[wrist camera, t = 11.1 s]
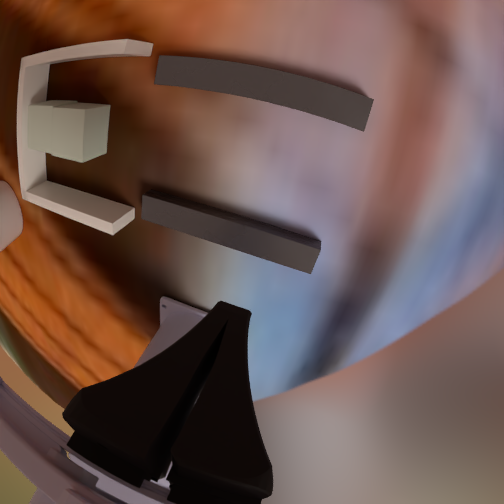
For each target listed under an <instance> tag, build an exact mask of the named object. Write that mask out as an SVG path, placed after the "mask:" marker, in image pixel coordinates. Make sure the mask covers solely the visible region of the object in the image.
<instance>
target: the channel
mask: <svg viewBox="0 0 504 504" xmlns="http://www.w3.org/2000/svg"><path fill="white" fill-rule="evenodd" d="M154 84H158V85H169V86H179V87H187V88H195V89H202V90H209V91H215V92H221V93H226V94H232V95H237V96H242V97H247V98H252V99H256V100H261V101H265V102H269V103H273V104H277V105H281V106H285V107H289V108H293V109H296V110H300V111H303V112H307V113H310V114H314V115H317V116H320V117H323V118H326V119H329V120H332V121H335V122H338V123H341V124H344V125H347V126H350V127H353V128H355V129H358V130H361V131H363V132H364V130H365V127H366V123H367V120H368V117H369V114H370V111H371V107H372V104H373V101H374V99H371V98H369V97H366V96H363V95H361V94H358V93H355V92H352V91H349V90H347V89H344V88H341V87H338V86H334V85H331V84H328V83H325V82H321V81H318V80H315V79H311V78H307V77H304V76H300V75H296V74H292V73H288V72H284V71H279V70H275V69H270V68H265V67H260V66H255V65H249V64H243V63H237V62H230V61H223V60H215V59H206V58H195V57H182V56H161V55H159V60H158V66H157V71H156V76H155V82H154ZM142 219H144V220H147V221H150V222H153V223H156V224H159V225H162V226H165V227H168V228H171V229H174V230H177V231H180V232H183V233H186V234H189V235H192V236H195V237H198V238H201V239H205V240H208V241H211V242H214V243H217V244H220V245H223V246H226V247H229V248H232V249H235V250H238V251H241V252H244V253H247V254H250V255H253V256H256V257H260V258H263V259H266V260H269V261H272V262H275V263H278V264H281V265H284V266H287V267H290V268H293V269H296V270H299V271H303V272H306V273H309V274H311V272H312V270H313V267H314V265H315V263H316V260H317V258H318V255H319V253H320V250H321V241H318V240H315V239H312V238H309V237H306V236H303V235H300V234H297V233H294V232H291V231H288V230H285V229H281V228H278V227H275V226H272V225H269V224H266V223H263V222H259V221H256V220H253V219H250V218H247V217H243V216H240V215H237V214H234V213H230V212H227V211H224V210H220V209H217V208H214V207H210V206H207V205H204V204H200V203H197V202H194V201H190V200H187V199H183V198H180V197H176V196H173V195H169V194H166V193H162V192H159V191H155V190H152V189H151V190H149V191H148V192H146V193H145V194H143V195H142Z"/></svg>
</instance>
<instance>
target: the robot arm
mask: <svg viewBox="0 0 504 504" xmlns="http://www.w3.org/2000/svg"><path fill="white" fill-rule="evenodd" d="M251 314H252V313H251V312H250V311H249V310H247V309H244V308H241V307H238V306H235V305H232V304H229V303H226V302H223V301H219V302H218V303H217V304H216V305H215V306H214V307H213V309H212V310H211V311H210V312H209V313H207V312H205V311H202V310H199V309H197V308H194V307H191V306H189V305H186V304H183V303H181V302H178V301H176V300H173V299H171V298H168V297H165V296H163V297H162V298H161V299H160V328H159V330H158V331H157V333H156V334H155V336H154V337H153V339H152V340H151V342H150V343H149V345H148V346H147V348H146V349H145V351H144V352H143V354H142V356H141V357H140V359H139V360H138V362H137V363H136V365H135V366H134V368H133V369H131V370H129V371H127V372H124V373H122V374H120V375H118V376H115V377H113V378H111V379H108V380H106V381H103V382H100V383H97V384H94V385H91V386H88V387H85V388H82V389H81V390H80V391H79V392H78V393H77V394H76V395H75V396H74V398H73V399H72V400H71V401H70V403H69V404H68V406H67V407H66V409H65V410H64V412H63V413H62V415H63V418H64V420H65V421H66V422H67V423H68V424H69V425H70V426H71V427H72V428H73V429H74V430H75V431H74V433H73V435H72V436H71V437H69V436H68V435H67V434H65V433H64V432H63V431H61V430H60V429H59V428H57V427H56V426H54V425H53V424H52V423H51V422H49V421H48V420H47V419H45V418H44V417H43V416H42V415H40V414H39V413H38V412H37V411H36V410H34V409H33V408H32V407H31V406H30V405H28V404H27V403H26V402H25V401H24V400H23V399H22V398H20V396H18V395H17V394H16V393H15V392H14V391H13V390H12V389H11V388H10V387H9V386H8V385H7V384H6V383H5V382H4V381H3V380H2V378H1V377H0V449H1V451H2V452H3V453H4V454H5V455H6V456H7V457H8V458H9V459H10V461H11V462H12V463H13V464H14V465H15V466H16V467H17V468H18V469H19V470H20V471H21V472H22V473H23V474H24V475H25V476H26V477H27V478H28V479H29V480H30V481H31V482H32V483H33V484H34V485H35V486H36V487H37V490H36V492H35V494H34V495H33V497H32V499H31V501H30V503H29V504H261V500H262V499H264V498H267V497H269V496H271V494H272V491H273V473H272V465H271V462H270V460H269V457H268V455H267V452H266V449H265V446H264V444H263V440H262V437H261V434H260V431H259V427H258V423H257V419H256V415H255V411H254V406H253V401H252V395H251V389H250V381H249V371H248V329H249V322H250V317H251ZM64 449H65V450H66V451H68V452H69V454H68V455H69V458H70V459H69V458H68V457H67V453H66V451H65V450H64Z"/></svg>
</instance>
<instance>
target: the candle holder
mask: <svg viewBox="0 0 504 504" xmlns="http://www.w3.org/2000/svg"><path fill="white" fill-rule="evenodd" d="M22 230H23V217H22V212H21V208H20V205H19V202H18V200H17V197H16V195H15V193H14V191H13V190H12V188H11V187H10V185H9V184H8V183H6V182H5V181H0V252H1V251H2V250H3V249H5V248H6V247H7V246H8V245H9V244H10V243H12V242H13V241H14V240H15V239H16V238H17V237H18V236H20V234H21V233H22Z"/></svg>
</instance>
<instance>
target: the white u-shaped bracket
mask: <svg viewBox="0 0 504 504" xmlns="http://www.w3.org/2000/svg"><path fill="white" fill-rule="evenodd" d="M152 47H153V43H148V42H142V41H137V40H130V39H121V40H110V41H101V42H93V43H86V44H80V45H74V46H69V47H63V48H59V49H54V50H50V51H45V52H41V53H37V54H34V55H30V56H26V57H23V58H22V59H21V67H20V76H19V86H18V101H17V149H18V165H19V176H20V185H21V193H22V199H24V200H27V201H29V202H31V203H34V204H36V205H38V206H41V207H43V208H46V209H48V210H51V211H53V212H55V213H58V214H60V215H63V216H65V217H68V218H70V219H73V220H75V221H78V222H80V223H83V224H85V225H88V226H91V227H93V228H96V229H98V230H101V231H103V232H106V233H109V234H111V235H114V234H115V233H116V232H118V231H119V230H120V229H122V228H123V227H124V226H125V225H127V224H128V223H129V222H131V221H132V220H133V219H135V208H134V207H131V206H127V205H124V204H121V203H118V202H115V201H111V200H108V199H105V198H102V197H99V196H95V195H92V194H89V193H86V192H83V191H79V190H76V189H73V188H70V187H67V186H63V185H60V184H57V183H54V182H50V181H47V174H46V155H45V152H42V151H38V150H33V149H29V148H28V105H32V104H36V103H41V102H45V101H46V98H47V86H48V76H49V68H50V64H54V63H60V62H67V61H74V60H83V59H93V58H106V57H130V56H151V52H152Z"/></svg>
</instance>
